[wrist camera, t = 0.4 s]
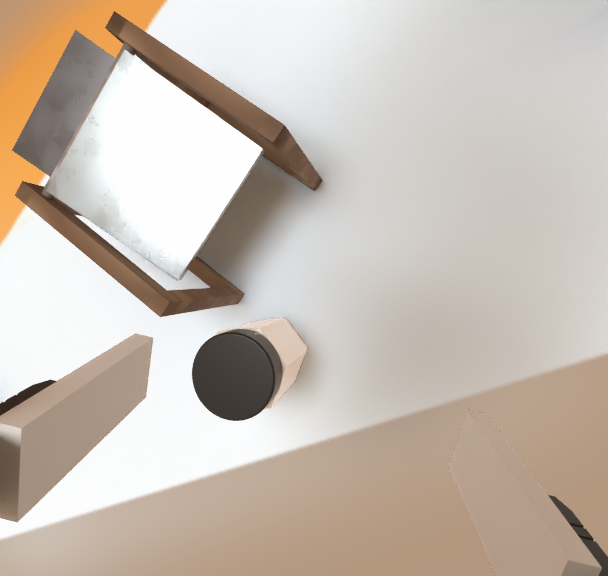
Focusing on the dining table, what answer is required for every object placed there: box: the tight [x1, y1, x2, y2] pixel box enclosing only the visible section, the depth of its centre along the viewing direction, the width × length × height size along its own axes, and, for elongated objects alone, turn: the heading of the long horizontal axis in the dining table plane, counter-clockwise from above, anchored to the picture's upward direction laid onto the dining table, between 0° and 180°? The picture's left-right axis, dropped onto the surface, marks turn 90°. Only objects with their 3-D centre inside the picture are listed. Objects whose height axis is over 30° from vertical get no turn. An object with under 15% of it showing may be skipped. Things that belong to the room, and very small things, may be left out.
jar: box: [192, 318, 308, 421], centre depth 39 cm, size 9×8×12 cm
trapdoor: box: [13, 30, 264, 281], centre depth 36 cm, size 14×19×8 cm
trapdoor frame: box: [15, 12, 322, 317], centre depth 38 cm, size 18×18×16 cm
